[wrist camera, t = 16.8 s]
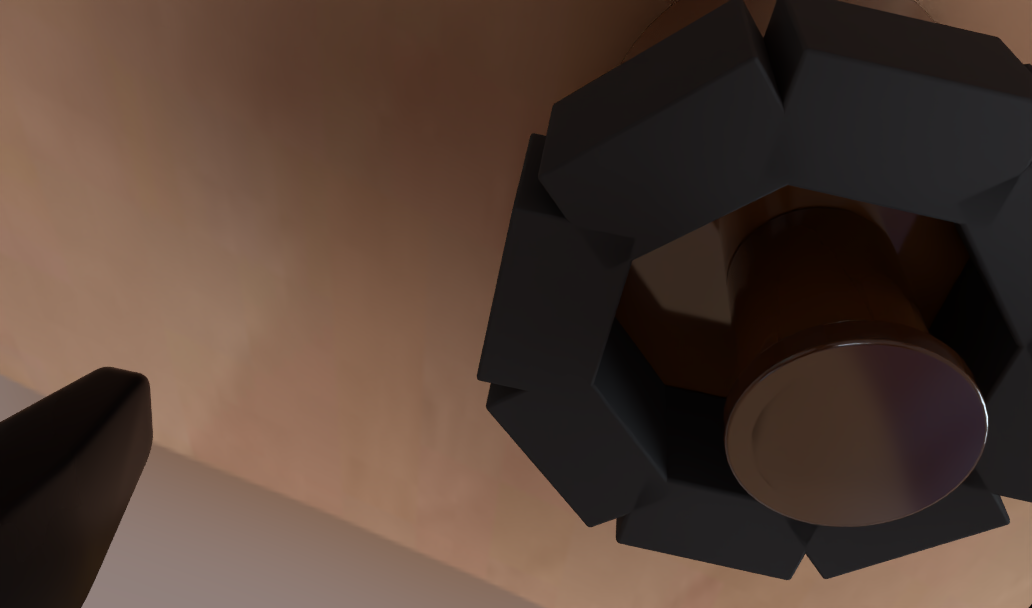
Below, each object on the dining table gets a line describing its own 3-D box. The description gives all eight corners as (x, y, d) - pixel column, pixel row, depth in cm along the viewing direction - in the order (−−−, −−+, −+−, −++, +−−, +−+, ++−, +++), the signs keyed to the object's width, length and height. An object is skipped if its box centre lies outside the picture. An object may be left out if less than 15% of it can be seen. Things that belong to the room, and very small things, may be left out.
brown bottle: (629, 303, 23) (619, 630, 15) (569, 1, 19) (516, 240, 11) (957, 263, 21) (1132, 608, 14) (969, -78, 17) (1226, 140, 10)
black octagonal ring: (1205, 83, 13) (1307, 162, 11) (921, 513, 19) (955, 619, 16) (572, -62, 13) (559, -9, 11) (470, 413, 18) (448, 507, 16)
